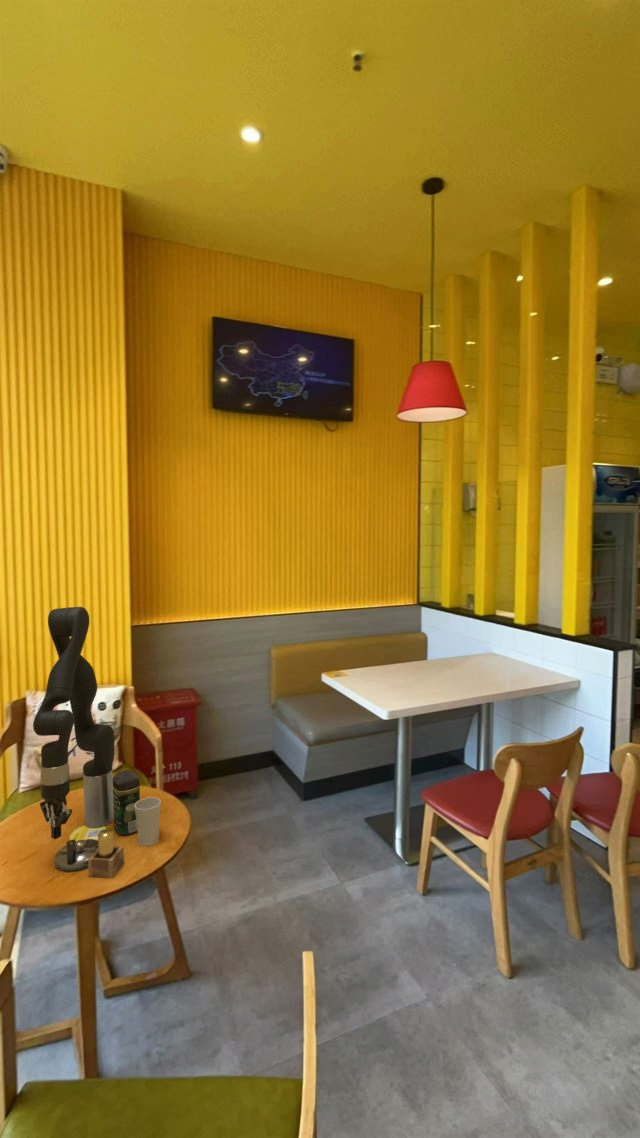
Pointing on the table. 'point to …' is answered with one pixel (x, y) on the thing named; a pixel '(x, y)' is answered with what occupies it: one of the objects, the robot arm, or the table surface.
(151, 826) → the cup
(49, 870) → the table surface
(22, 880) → the table surface
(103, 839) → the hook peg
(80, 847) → the axle cap
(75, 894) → the table surface
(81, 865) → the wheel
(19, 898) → the table surface
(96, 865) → the block
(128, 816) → the coffee jar
